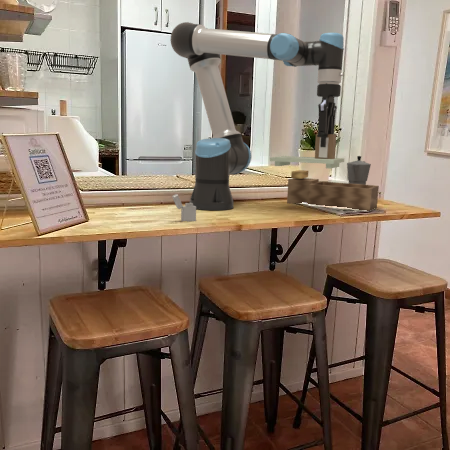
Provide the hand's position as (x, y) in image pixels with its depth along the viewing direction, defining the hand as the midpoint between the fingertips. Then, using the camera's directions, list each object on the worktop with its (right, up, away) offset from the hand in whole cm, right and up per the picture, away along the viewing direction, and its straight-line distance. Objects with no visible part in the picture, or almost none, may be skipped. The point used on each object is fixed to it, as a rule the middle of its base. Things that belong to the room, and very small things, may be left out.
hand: (324, 157), depth 168 cm
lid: (-5, -3, +3) cm, 7 cm away
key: (-5, -5, +24) cm, 25 cm away
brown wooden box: (+6, -15, +20) cm, 26 cm away
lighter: (-45, -22, -20) cm, 54 cm away
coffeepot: (+19, -13, +34) cm, 41 cm away
